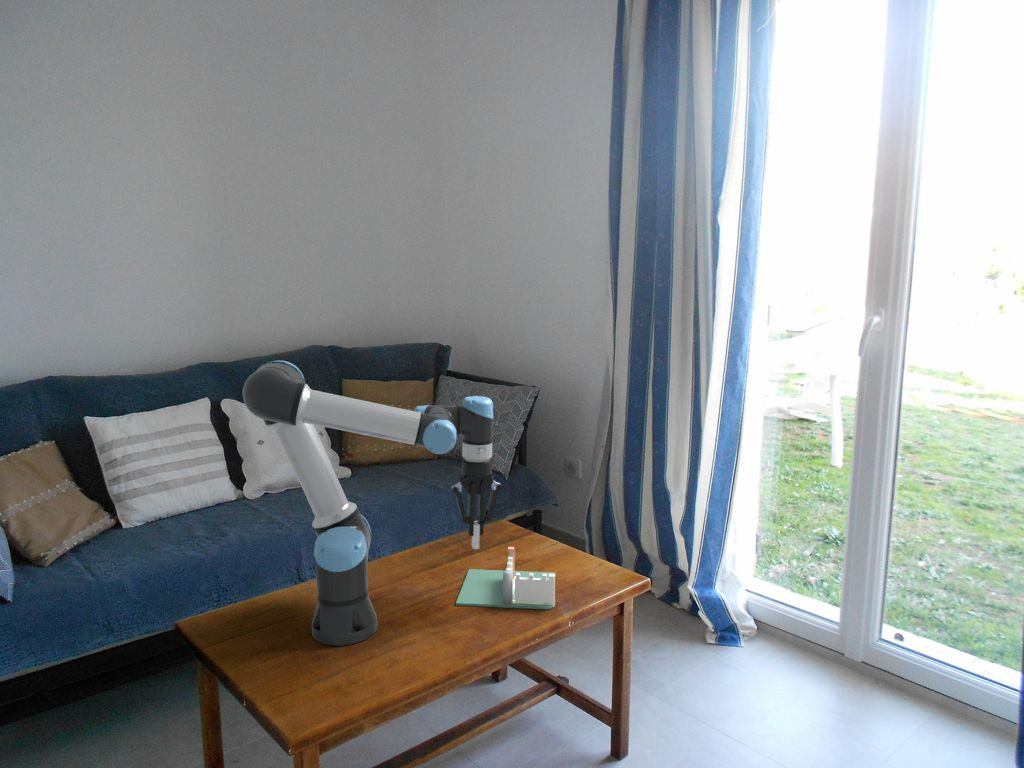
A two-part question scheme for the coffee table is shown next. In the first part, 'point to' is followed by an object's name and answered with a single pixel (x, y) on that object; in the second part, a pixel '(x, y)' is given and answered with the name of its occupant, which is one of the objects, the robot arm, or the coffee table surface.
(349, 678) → the coffee table surface
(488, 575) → the board
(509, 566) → the white crenellated wall
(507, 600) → the fixed fence
